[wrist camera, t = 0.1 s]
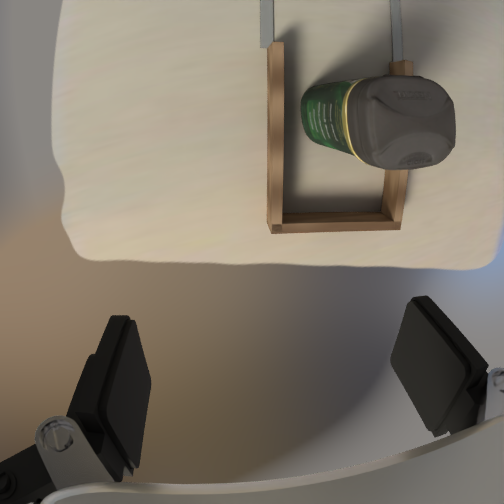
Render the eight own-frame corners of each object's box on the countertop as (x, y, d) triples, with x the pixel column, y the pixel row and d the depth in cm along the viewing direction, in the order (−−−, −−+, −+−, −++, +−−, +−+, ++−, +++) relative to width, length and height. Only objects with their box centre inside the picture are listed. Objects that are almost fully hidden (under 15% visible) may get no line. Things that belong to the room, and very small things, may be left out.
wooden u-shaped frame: (267, 48, 32) (272, 41, 29) (397, 64, 34) (412, 61, 30) (266, 222, 42) (271, 233, 38) (386, 219, 43) (400, 229, 40)
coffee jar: (303, 149, 38) (368, 182, 21) (294, 86, 35) (356, 71, 18) (373, 141, 38) (466, 170, 22) (367, 82, 35) (461, 76, 18)
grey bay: (259, -47, 26) (259, -47, 26) (396, -23, 28) (397, -23, 28) (260, 48, 32) (260, 47, 32) (402, 65, 34) (402, 65, 34)
